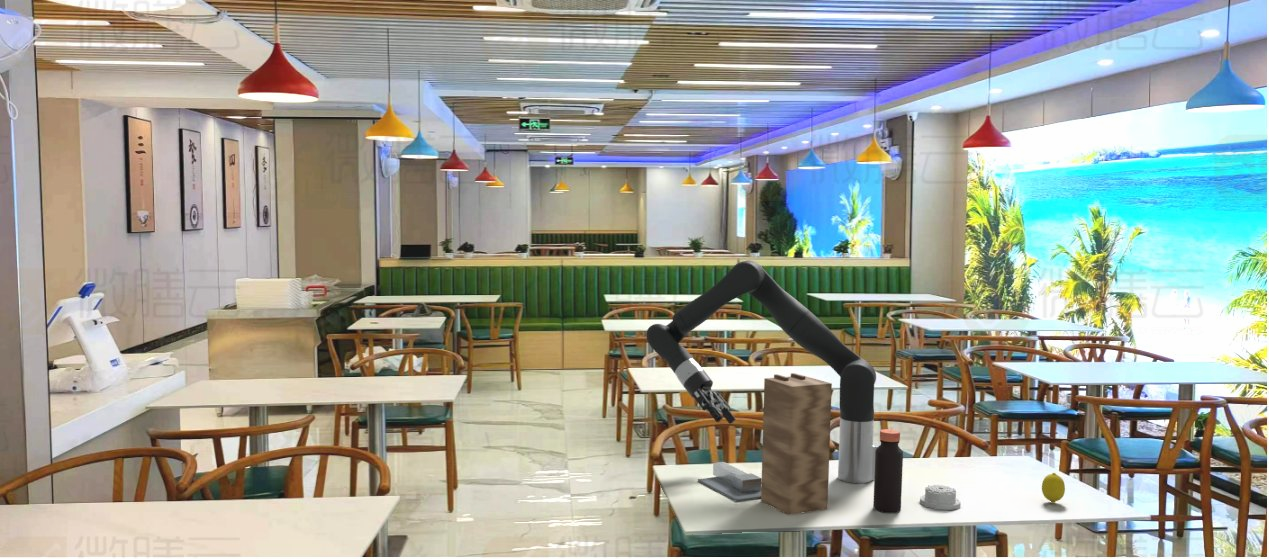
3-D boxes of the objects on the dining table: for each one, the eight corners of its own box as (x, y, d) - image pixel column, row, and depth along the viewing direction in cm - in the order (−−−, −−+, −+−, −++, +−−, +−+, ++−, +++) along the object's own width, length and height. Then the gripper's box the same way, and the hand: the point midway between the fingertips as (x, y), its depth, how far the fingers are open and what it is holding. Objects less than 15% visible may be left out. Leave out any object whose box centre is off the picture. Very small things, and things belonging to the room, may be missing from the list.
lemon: (1064, 501, 252) (1065, 471, 251) (1063, 507, 247) (1065, 477, 246) (1041, 498, 254) (1042, 469, 253) (1040, 504, 249) (1042, 474, 248)
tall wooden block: (799, 495, 252) (803, 372, 250) (827, 509, 242) (831, 380, 239) (760, 501, 247) (764, 375, 245) (788, 514, 236) (792, 383, 234)
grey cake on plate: (964, 512, 242) (955, 500, 252) (965, 494, 242) (956, 483, 252) (923, 510, 243) (916, 498, 253) (924, 492, 243) (917, 481, 253)
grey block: (727, 473, 271) (727, 461, 270) (761, 490, 254) (761, 478, 254) (709, 475, 268) (709, 463, 268) (742, 493, 252) (742, 480, 252)
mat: (735, 476, 270) (735, 474, 269) (775, 496, 252) (775, 494, 252) (698, 481, 264) (698, 479, 264) (737, 501, 246) (737, 499, 246)
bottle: (886, 514, 238) (889, 435, 236) (867, 507, 244) (870, 429, 242) (906, 511, 241) (909, 432, 240) (887, 503, 247) (890, 427, 246)
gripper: (691, 367, 270) (725, 410, 263) (713, 371, 282) (746, 413, 275) (673, 384, 272) (706, 428, 265) (695, 388, 284) (728, 430, 277)
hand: (726, 421), depth 270 cm, fingers open, 8 cm apart
